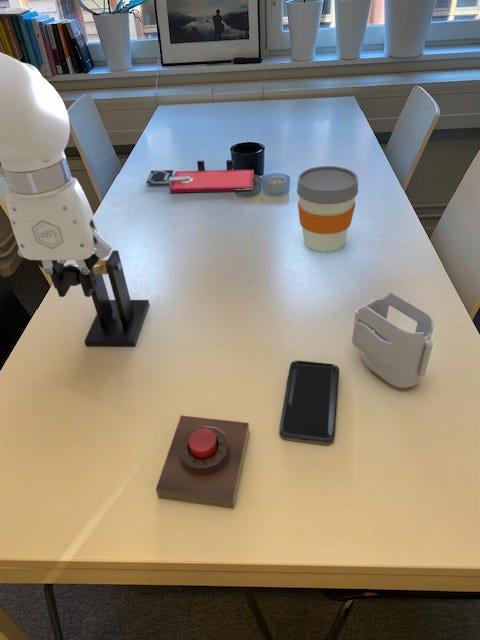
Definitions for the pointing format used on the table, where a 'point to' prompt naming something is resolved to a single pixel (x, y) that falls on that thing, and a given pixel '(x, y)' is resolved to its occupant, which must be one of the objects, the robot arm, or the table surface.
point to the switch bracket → (115, 310)
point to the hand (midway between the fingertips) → (77, 290)
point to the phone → (310, 403)
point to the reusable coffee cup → (326, 206)
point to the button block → (204, 464)
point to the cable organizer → (393, 341)
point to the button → (202, 443)
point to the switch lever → (72, 272)
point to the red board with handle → (204, 179)
